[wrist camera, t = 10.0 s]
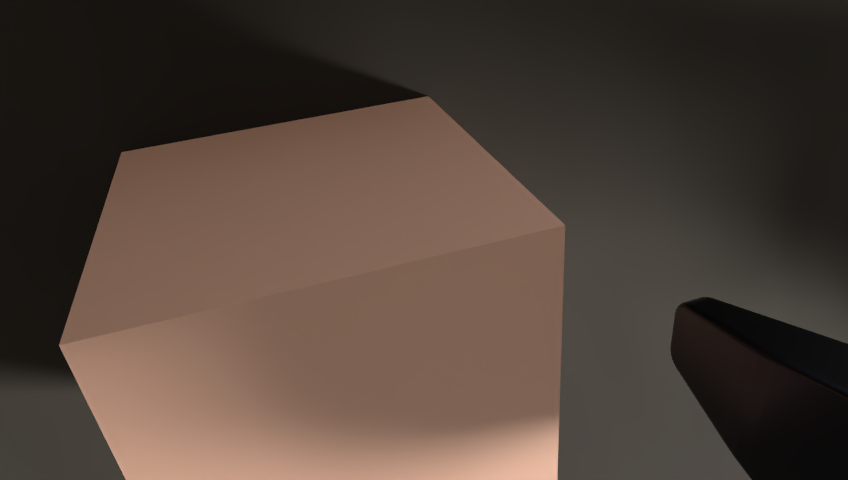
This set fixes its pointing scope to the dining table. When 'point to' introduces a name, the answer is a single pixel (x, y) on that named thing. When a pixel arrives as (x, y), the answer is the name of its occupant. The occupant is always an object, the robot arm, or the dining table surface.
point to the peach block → (323, 306)
